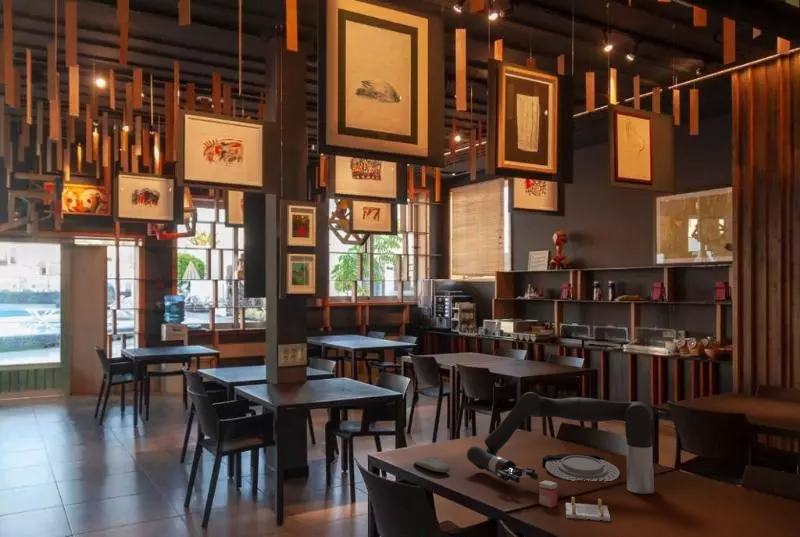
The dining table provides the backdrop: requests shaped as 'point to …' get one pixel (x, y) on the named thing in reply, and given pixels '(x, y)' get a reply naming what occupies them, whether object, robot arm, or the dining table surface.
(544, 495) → the small box
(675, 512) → the dining table surface
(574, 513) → the chassis
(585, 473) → the brake disc
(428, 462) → the stone
